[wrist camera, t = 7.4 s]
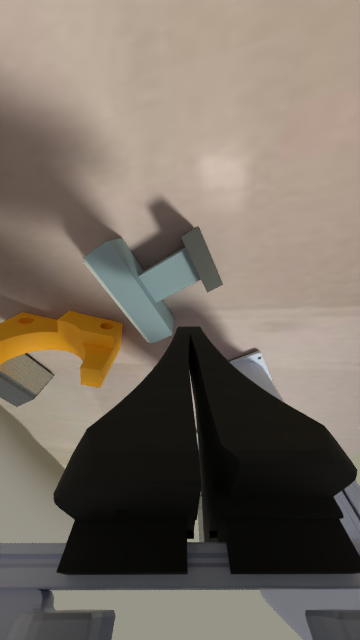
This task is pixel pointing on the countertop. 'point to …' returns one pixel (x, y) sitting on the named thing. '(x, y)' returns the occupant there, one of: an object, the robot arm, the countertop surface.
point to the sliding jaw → (152, 280)
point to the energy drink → (200, 521)
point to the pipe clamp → (65, 340)
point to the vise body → (22, 379)
